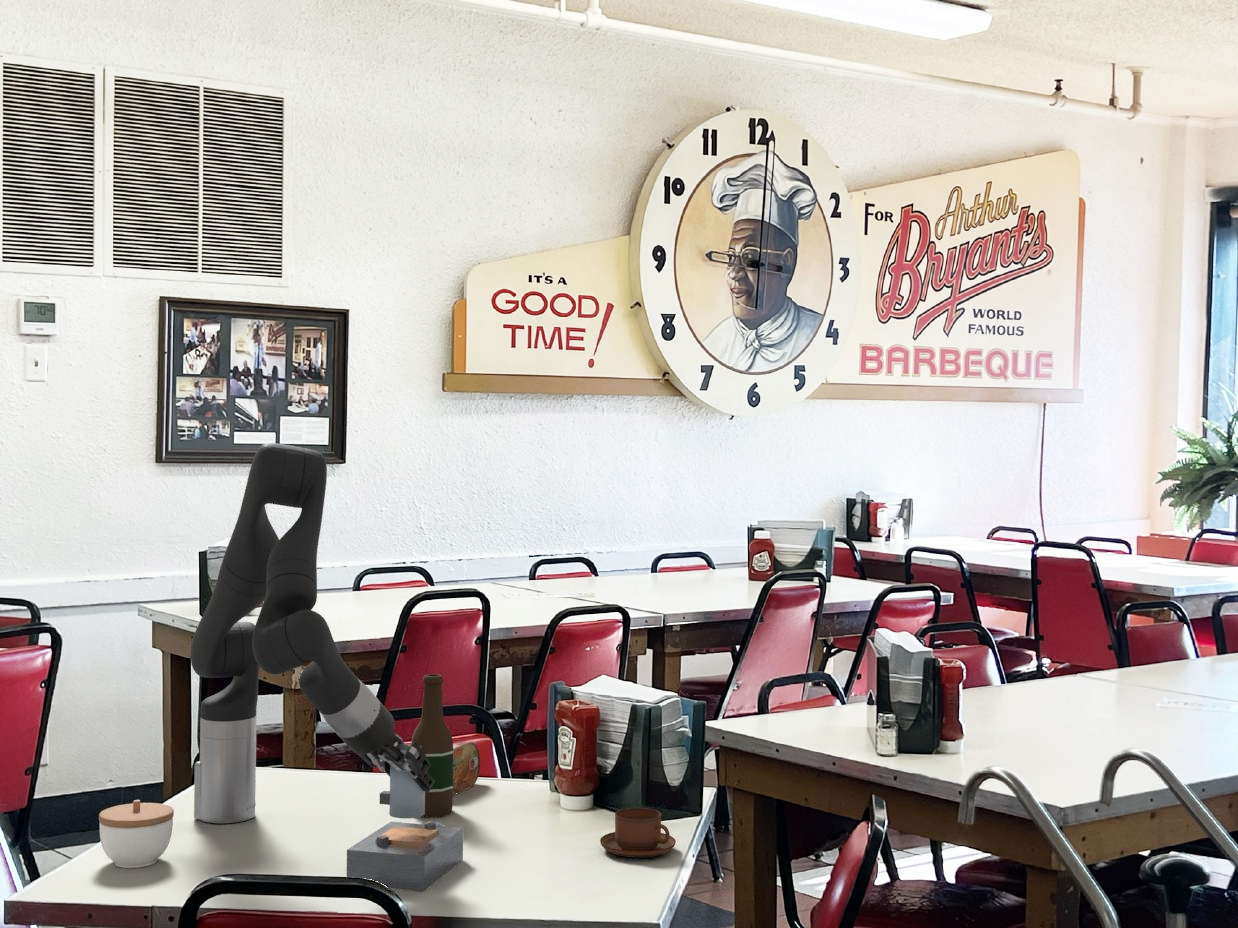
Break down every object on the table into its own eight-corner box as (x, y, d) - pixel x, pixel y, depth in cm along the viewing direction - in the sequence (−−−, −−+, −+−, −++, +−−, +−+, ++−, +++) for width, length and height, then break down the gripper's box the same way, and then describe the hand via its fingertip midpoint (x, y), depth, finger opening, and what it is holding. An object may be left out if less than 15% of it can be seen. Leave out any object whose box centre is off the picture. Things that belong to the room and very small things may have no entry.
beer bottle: (445, 819, 235) (447, 679, 235) (402, 816, 237) (404, 677, 237) (459, 808, 243) (461, 672, 243) (417, 805, 245) (419, 670, 244)
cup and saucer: (684, 846, 222) (685, 808, 222) (662, 866, 211) (662, 826, 211) (614, 838, 226) (615, 800, 226) (589, 858, 215) (589, 818, 215)
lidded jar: (181, 866, 207) (182, 803, 207) (106, 876, 201) (107, 812, 201) (163, 848, 216) (163, 788, 216) (91, 858, 210) (92, 797, 210)
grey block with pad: (346, 883, 199) (346, 841, 199) (403, 843, 220) (404, 805, 220) (424, 891, 197) (424, 847, 197) (474, 850, 217) (475, 810, 217)
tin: (444, 800, 249) (444, 754, 249) (428, 798, 250) (429, 752, 250) (481, 782, 263) (482, 738, 263) (466, 780, 264) (467, 737, 264)
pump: (374, 816, 204) (375, 748, 204) (388, 807, 209) (389, 741, 209) (416, 819, 202) (417, 751, 202) (429, 810, 208) (430, 744, 208)
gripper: (404, 699, 195) (463, 770, 205) (338, 688, 204) (397, 756, 214) (375, 742, 191) (437, 812, 201) (309, 729, 200) (371, 797, 210)
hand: (416, 783), depth 207 cm, fingers closed on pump, 5 cm apart
